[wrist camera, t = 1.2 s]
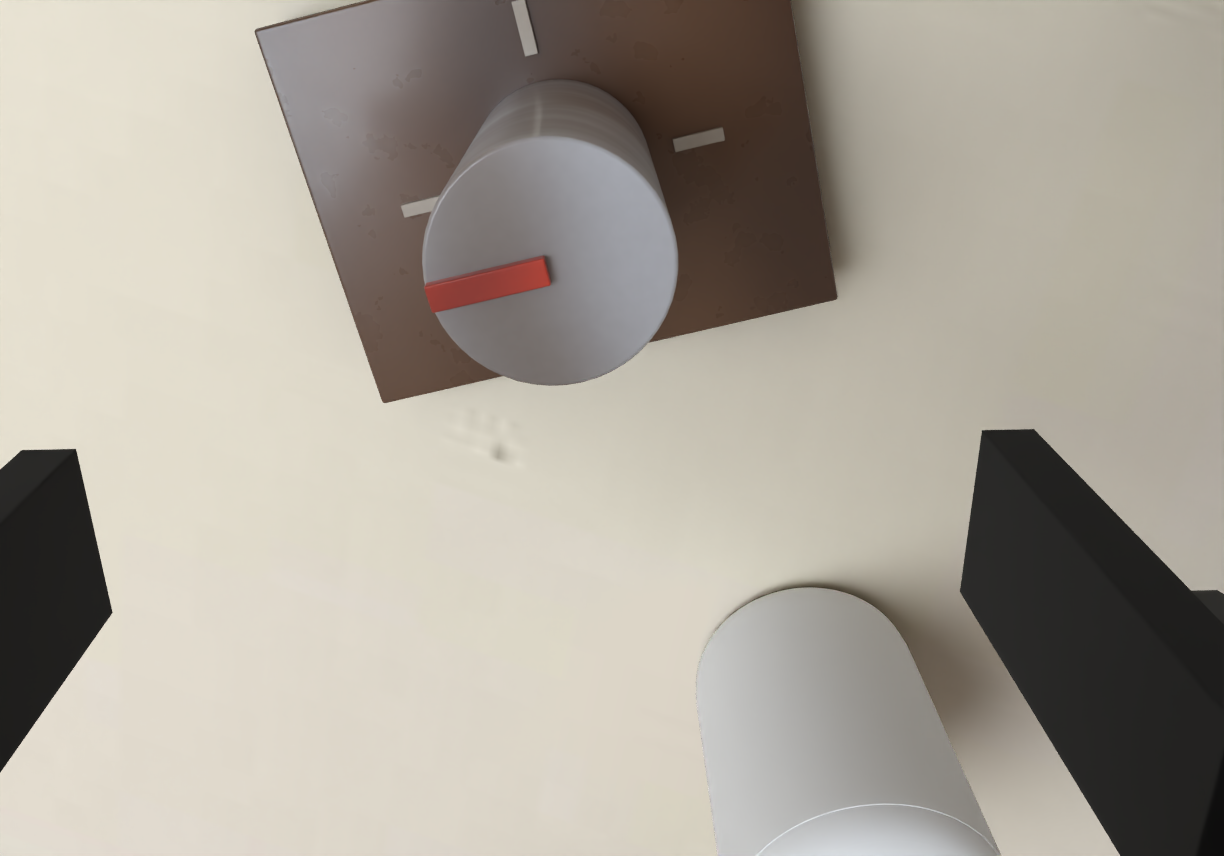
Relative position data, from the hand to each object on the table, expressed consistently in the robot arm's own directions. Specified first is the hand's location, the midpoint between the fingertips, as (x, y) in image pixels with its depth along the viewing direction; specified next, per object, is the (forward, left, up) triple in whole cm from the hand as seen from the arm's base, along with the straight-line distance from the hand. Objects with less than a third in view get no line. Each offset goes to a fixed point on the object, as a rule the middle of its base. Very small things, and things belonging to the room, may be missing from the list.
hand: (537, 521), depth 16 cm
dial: (0, -2, -17) cm, 17 cm away
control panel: (0, -2, -19) cm, 19 cm away
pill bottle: (-8, +17, -19) cm, 27 cm away
